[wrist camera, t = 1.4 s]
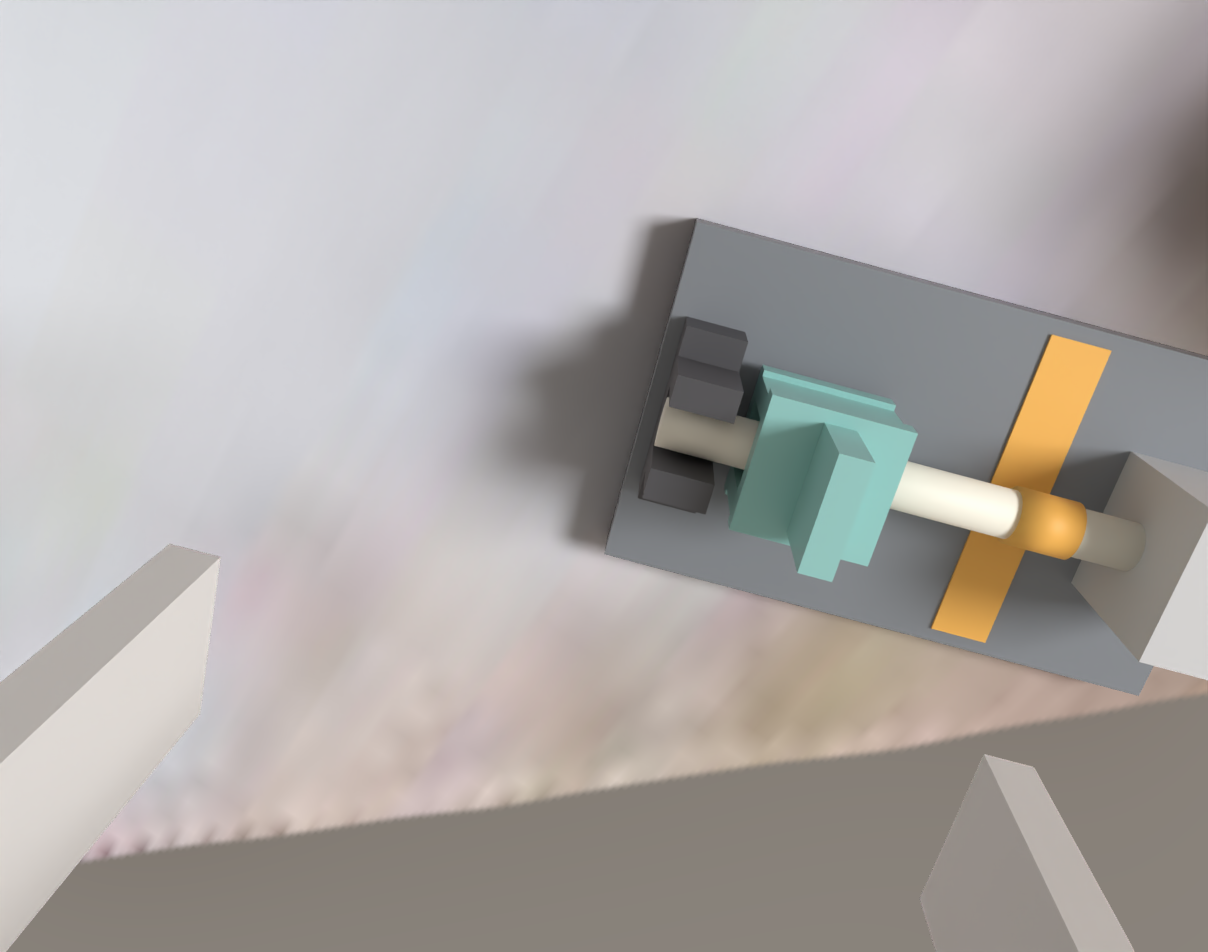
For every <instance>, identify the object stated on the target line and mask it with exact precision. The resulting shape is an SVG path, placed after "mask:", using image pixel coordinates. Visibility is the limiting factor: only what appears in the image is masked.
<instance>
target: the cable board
mask: <svg viewBox="0 0 1208 952" xmlns="http://www.w3.org/2000/svg"><path fill="white" fill-rule="evenodd" d="M762 365H766V366H770V367H773V368H777V369H781V370H785V371H788V372H792V373H796V374H799V375H803V376H807V377H811V378H814V379H818V380H822V381H826V382H829V383H833V384H837V385H840V386H844V387H848V388H852V389H855V390H859V391H863V392H866V393H870V394H874V395H878V396H881V397H885V398H889V399H892V401H893V402H894V403H895V405H896V407H895V410H894V412H895V413H896V414H897V416H898V417H899V418H900V420H901V421H902V422H903V424H906V425H910V426H912V427H913V428H914V429H915V430H916V432H917V433H918V435H917V438H916V440H915V443H914V446H913V448H912V451H911V454H910V456H909V459H908V461H907V464H906V467H905V469H904V472H903V475H902V477H901V480H900V483H899V485H898V488H897V491H896V493H895V496H894V499H893V501H892V504H891V506H890V509H889V512H888V514H887V517H886V520H885V522H884V525H883V528H882V530H881V533H880V536H879V538H878V541H877V544H876V546H875V549H874V551H873V554H872V557H871V559H870V562H869V565H868V567H867V566H864V565H860V564H856V563H852V562H849V561H845V560H841V559H840V562H839V565H838V568H837V570H836V573H835V576H834V578H833V581H832V582H829V581H826V580H822V579H818V578H814V577H811V576H807V575H803V574H799V573H797V570H796V566H795V562H794V558H793V554H792V551H791V547H790V546H788V545H785V544H781V543H777V542H773V541H770V540H766V539H762V538H758V537H755V536H751V535H747V534H743V533H740V532H736V531H732V530H729V525H728V519H729V515H730V512H729V504H728V496H727V495H726V494H725V491H724V485H725V481H726V478H727V475H728V472H729V469H730V466H732V467H736V468H740V469H743V470H744V469H745V466H746V462H747V459H748V456H749V453H750V450H751V447H752V444H753V441H754V438H755V434H756V431H757V428H758V425H759V422H760V421H756V420H752V419H749V418H746V415H747V412H748V409H749V405H750V402H751V399H752V396H753V393H754V390H755V386H756V383H757V380H758V377H759V374H760V371H761V367H762ZM605 554H606V555H610V556H614V557H618V558H621V559H625V560H629V561H633V562H636V563H640V564H644V565H648V566H651V567H655V568H659V569H663V570H667V571H670V572H674V573H678V574H682V575H685V576H689V577H693V578H697V579H700V580H704V581H708V582H712V583H716V584H719V585H723V586H727V587H731V588H734V589H738V590H742V591H746V592H749V593H753V594H757V595H761V596H765V597H768V598H772V599H776V600H780V601H783V602H787V603H791V604H795V605H798V606H802V607H806V608H810V609H814V610H817V611H821V612H825V613H829V614H832V615H836V616H840V617H844V618H847V619H851V620H855V621H859V622H863V623H866V624H870V625H874V626H878V627H881V628H885V629H889V630H893V631H896V632H900V633H904V634H908V635H912V636H915V637H919V638H923V639H927V640H930V641H934V642H938V643H942V644H945V645H949V646H953V647H957V648H961V649H964V650H968V651H972V652H976V653H979V654H983V655H987V656H991V657H994V658H998V659H1002V660H1006V661H1010V662H1013V663H1017V664H1021V665H1025V666H1028V667H1032V668H1036V669H1040V670H1043V671H1047V672H1051V673H1055V674H1059V675H1062V676H1066V677H1070V678H1074V679H1077V680H1081V681H1085V682H1089V683H1092V684H1096V685H1100V686H1104V687H1108V688H1111V689H1115V690H1119V691H1123V692H1126V693H1130V694H1134V695H1138V696H1139V694H1140V692H1141V690H1142V688H1143V686H1144V684H1145V682H1146V680H1147V678H1148V676H1149V674H1150V672H1151V670H1152V668H1153V666H1156V667H1160V668H1164V669H1168V670H1171V671H1175V672H1179V673H1183V674H1186V675H1190V676H1194V677H1198V678H1201V679H1205V680H1208V356H1205V355H1201V354H1197V353H1194V352H1190V351H1186V350H1183V349H1179V348H1175V347H1171V346H1168V345H1164V344H1160V343H1157V342H1153V341H1149V340H1146V339H1142V338H1138V337H1135V336H1131V335H1127V334H1123V333H1120V332H1116V331H1112V330H1109V329H1105V328H1101V327H1098V326H1094V325H1090V324H1086V323H1083V322H1079V321H1075V320H1072V319H1068V318H1064V317H1061V316H1057V315H1053V314H1050V313H1046V312H1042V311H1038V310H1035V309H1031V308H1027V307H1024V306H1020V305H1016V304H1013V303H1009V302H1005V301H1001V300H998V299H994V298H990V297H987V296H983V295H979V294H976V293H972V292H968V291H964V290H961V289H957V288H953V287H950V286H946V285H942V284H939V283H935V282H931V281H928V280H924V279H920V278H916V277H913V276H909V275H905V274H902V273H898V272H894V271H891V270H887V269H883V268H879V267H876V266H872V265H868V264H865V263H861V262H857V261H854V260H850V259H846V258H843V257H839V256H835V255H831V254H828V253H824V252H820V251H817V250H813V249H809V248H806V247H802V246H798V245H794V244H791V243H787V242H783V241H780V240H776V239H772V238H769V237H765V236H761V235H758V234H754V233H750V232H746V231H743V230H739V229H735V228H732V227H728V226H724V225H721V224H717V223H713V222H709V221H706V220H702V219H698V218H697V219H696V222H695V226H694V229H693V233H692V237H691V240H690V244H689V247H688V251H687V254H686V258H685V262H684V265H683V269H682V272H681V276H680V280H679V283H678V287H677V290H676V294H675V297H674V301H673V305H672V308H671V312H670V315H669V319H668V323H667V326H666V330H665V333H664V337H663V340H662V344H661V348H660V351H659V355H658V358H657V362H656V366H655V369H654V373H653V376H652V380H651V383H650V387H649V391H648V394H647V398H646V401H645V405H644V409H643V412H642V416H641V419H640V423H639V426H638V430H637V434H636V437H635V441H634V444H633V448H632V452H631V455H630V459H629V462H628V466H627V469H626V473H625V477H624V480H623V484H622V487H621V491H620V494H619V498H618V502H617V505H616V509H615V512H614V516H613V520H612V523H611V527H610V530H609V534H608V537H607V543H606V548H605Z"/></svg>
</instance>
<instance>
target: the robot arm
mask: <svg viewBox="0 0 1208 952" xmlns="http://www.w3.org/2000/svg"><path fill="white" fill-rule="evenodd" d="M220 559H221V557H219V556H215V555H211V554H207V553H203V552H200V551H196V550H192V549H188V548H184V547H180V546H176V545H172V544H169V545H168V546H166V547H165V548H164V549H163V550H162V551H160V552H159V553H158V554H157V555H155V556H154V557H153V558H152V559H151V560H149V561H148V562H147V563H146V564H144V565H143V566H142V567H141V568H140V569H138V570H137V571H136V572H135V573H133V574H132V575H131V576H130V577H129V578H127V579H126V580H125V581H124V582H122V583H121V584H120V585H119V586H118V587H116V588H115V589H114V590H113V591H111V592H110V593H109V594H108V595H107V596H105V597H104V598H103V599H102V600H100V601H99V602H98V603H97V604H96V605H94V606H93V607H92V608H91V609H89V610H88V611H87V612H86V613H85V614H83V615H82V616H81V617H80V618H79V619H77V620H76V621H75V622H74V623H72V624H71V625H70V626H69V627H68V628H66V629H65V630H64V631H63V632H61V633H60V634H59V635H58V636H57V637H55V638H54V639H53V640H52V641H50V642H49V643H48V644H47V645H46V646H44V647H43V648H42V649H41V650H39V651H38V652H37V653H36V654H35V655H33V656H32V657H31V658H30V659H28V660H27V661H26V662H25V663H24V664H22V665H21V666H20V667H19V668H17V669H16V670H15V671H14V672H13V673H11V674H10V675H9V676H8V677H6V678H5V679H4V680H3V681H2V682H0V952H6V951H7V950H8V948H9V947H10V946H11V945H12V944H13V942H14V941H15V940H16V939H17V937H18V936H19V935H20V934H21V932H22V931H23V930H24V929H25V928H26V926H27V925H28V924H29V923H30V922H31V920H32V919H33V918H34V917H35V915H36V914H37V913H38V912H39V910H40V909H41V908H42V907H43V906H44V904H45V903H46V902H47V901H48V899H49V898H50V897H51V896H52V895H53V893H54V892H55V891H56V890H57V888H58V887H59V886H60V885H61V884H62V882H63V881H64V880H65V879H66V877H67V876H68V875H69V874H70V873H71V871H72V870H73V869H74V868H75V866H76V865H77V864H78V863H79V862H80V860H81V859H82V858H83V857H84V855H85V854H86V853H87V852H88V851H89V849H90V848H91V847H92V846H93V844H94V843H95V842H96V841H97V840H98V838H99V837H100V836H101V835H102V833H103V832H104V831H105V830H106V829H107V827H108V826H109V825H110V824H111V822H112V821H113V820H114V819H115V818H116V816H117V815H118V814H119V813H120V811H121V810H122V809H123V808H124V807H125V805H126V804H127V803H128V802H129V800H130V799H131V798H132V797H133V795H134V794H135V793H136V792H137V791H138V789H139V788H140V787H141V786H142V784H143V783H144V782H145V781H146V780H147V778H148V777H149V776H150V775H151V773H152V772H153V771H154V770H155V769H156V767H157V766H158V765H159V764H160V762H161V761H162V760H163V759H164V758H165V756H166V755H167V754H168V753H169V751H170V750H171V749H172V748H173V747H174V745H175V744H176V743H177V742H178V740H179V739H180V738H181V737H182V736H183V734H184V733H185V732H186V731H187V729H188V728H189V727H190V726H191V725H192V723H193V722H194V721H195V720H196V718H197V717H198V716H199V715H200V710H201V702H202V695H203V687H204V680H205V672H206V665H207V657H208V649H209V642H210V634H211V627H212V619H213V612H214V604H215V596H216V589H217V581H218V574H219V566H220ZM920 902H921V905H922V908H923V912H924V915H925V918H926V921H927V925H928V928H929V931H930V934H931V938H932V941H933V944H934V948H935V951H936V952H1135V951H1134V949H1133V947H1132V945H1131V944H1130V942H1129V940H1128V938H1127V936H1126V935H1125V933H1124V931H1123V929H1122V927H1121V925H1120V923H1119V922H1118V920H1117V918H1116V916H1115V915H1114V913H1113V911H1112V909H1111V907H1110V905H1109V903H1108V902H1107V900H1106V898H1105V896H1104V894H1103V892H1102V891H1101V889H1100V887H1099V885H1098V883H1097V882H1096V880H1095V878H1094V876H1093V874H1092V872H1091V871H1090V869H1089V867H1088V865H1087V863H1086V861H1085V860H1084V858H1083V856H1082V854H1081V852H1080V850H1079V849H1078V847H1077V845H1076V843H1075V841H1074V840H1073V838H1072V836H1071V834H1070V832H1069V830H1068V829H1067V827H1066V825H1065V823H1064V821H1063V820H1062V818H1061V816H1060V814H1059V812H1058V810H1057V809H1056V807H1055V805H1054V803H1053V801H1052V799H1051V798H1050V796H1049V794H1048V792H1047V790H1046V789H1045V787H1044V785H1043V783H1042V781H1041V779H1040V777H1039V776H1038V774H1037V772H1036V770H1035V768H1034V767H1032V766H1028V765H1024V764H1020V763H1016V762H1012V761H1009V760H1005V759H1000V758H997V757H993V756H989V755H985V754H984V755H983V757H982V759H981V762H980V764H979V766H978V768H977V771H976V773H975V775H974V777H973V780H972V782H971V784H970V786H969V789H968V791H967V793H966V795H965V798H964V800H963V802H962V804H961V807H960V809H959V811H958V814H957V816H956V818H955V820H954V822H953V825H952V827H951V829H950V831H949V834H948V836H947V838H946V840H945V842H944V845H943V847H942V849H941V852H940V854H939V856H938V858H937V860H936V863H935V865H934V867H933V869H932V872H931V874H930V876H929V878H928V880H927V883H926V885H925V887H924V889H923V892H922V894H921V896H920Z"/></svg>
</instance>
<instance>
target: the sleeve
mask: <svg viewBox="0 0 1208 952" xmlns="http://www.w3.org/2000/svg"><path fill="white" fill-rule="evenodd" d="M895 407H896V405H895V403H894V402H893V401H892V399H889V398H885V397H881V396H878V395H874V394H870V393H866V392H863V391H859V390H855V389H852V388H848V387H844V386H840V385H837V384H833V383H829V382H826V381H822V380H818V379H814V378H811V377H807V376H803V375H799V374H796V373H792V372H788V371H785V370H781V369H777V368H773V367H770V366H766V365H762V367H761V371H760V374H759V377H758V380H757V383H756V386H755V390H754V393H753V396H752V399H751V402H750V405H749V409H748V412H747V415H746V418H749V419H752V420H756V421H760V422H759V425H758V428H757V431H756V434H755V438H754V441H753V444H752V447H751V450H750V453H749V456H748V459H747V462H746V466H745V469H744V470H743V469H740V468H736V467H732V466H730V469H729V472H728V475H727V478H726V481H725V485H724V491H725V494H726V495H727V496H728V504H729V512H730V515H729V519H728V525H729V530H732V531H736V532H740V533H743V534H747V535H751V536H755V537H758V538H762V539H766V540H770V541H773V542H777V543H781V544H785V545H788V546H790V547H791V551H792V554H793V558H794V562H795V566H796V570H797V573H799V574H803V575H807V576H811V577H814V578H818V579H822V580H826V581H829V582H832V581H833V578H834V576H835V573H836V570H837V568H838V565H839V562H840V559H841V560H845V561H849V562H852V563H856V564H860V565H864V566H867V567H868V565H869V562H870V559H871V557H872V554H873V551H874V549H875V546H876V544H877V541H878V538H879V536H880V533H881V530H882V528H883V525H884V522H885V520H886V517H887V514H888V512H889V509H890V506H891V504H892V501H893V499H894V496H895V493H896V491H897V488H898V485H899V483H900V480H901V477H902V475H903V472H904V469H905V467H906V464H907V461H908V459H909V456H910V454H911V451H912V448H913V446H914V443H915V440H916V438H917V435H918V433H917V432H916V430H915V429H914V428H913V427H912V426H910V425H906V424H903V422H902V421H901V420H900V418H899V417H898V416H897V414H896V413H895V412H894V410H895Z"/></svg>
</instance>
